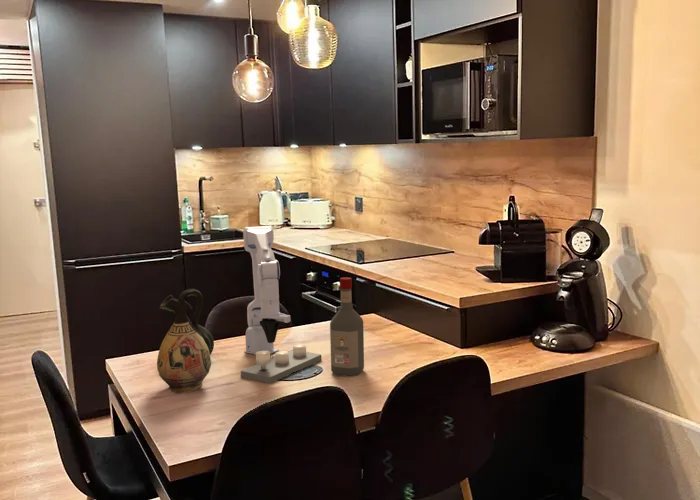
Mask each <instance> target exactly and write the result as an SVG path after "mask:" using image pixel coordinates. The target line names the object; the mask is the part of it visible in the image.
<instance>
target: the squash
mask: <svg viewBox="0 0 700 500" xmlns="http://www.w3.org/2000/svg"><path fill="white" fill-rule="evenodd" d="M198 326H199V329H200V333H201V336H202V337H203V339H204V341H205V343H206V344H207V346H208V349H209V353H210V356H211V355H212V353H213V350H214V348H215V339H214V336H213V335H212V334H211V332H210V330H208V329H207V328H206V327H204V326H202V325H201V324H199V323H198Z"/></svg>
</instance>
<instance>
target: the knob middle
mask: <svg viewBox="0 0 700 500" xmlns="http://www.w3.org/2000/svg"><path fill="white" fill-rule="evenodd" d="M274 357H275V363H276V364H287V363H289V352H288V351H285V350H283V351H282V350H281V351H280V350H279V351H277V352H274Z"/></svg>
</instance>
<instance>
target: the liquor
mask: <svg viewBox="0 0 700 500" xmlns="http://www.w3.org/2000/svg"><path fill="white" fill-rule="evenodd" d="M352 281H353V280H352V277H348V276H346V277H344V276H343V277H340V278H339V288H340V307H339V310H338V311H337V312H336V313H335V315H334V316H333V317H332V318H331V319H330V323H329V333H330V334H329V338H330V370H331V372H332V374H334V375H335V376H339V377H347V378H352V377H357V376H359V375H360V374H361V373H362V372H363V371H364V369H365V341H364V340H365V337H364V334H365V333H364V321H363V318H362V316H361V315H360V314H359V313H358V312H357V311H356V310H355V309H354V306H353V301H352V299H353V298H352V296H353V295H352V288H353V285H352V284H353V282H352Z"/></svg>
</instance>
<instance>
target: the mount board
mask: <svg viewBox="0 0 700 500" xmlns="http://www.w3.org/2000/svg"><path fill="white" fill-rule="evenodd" d="M287 352H289V363H287V364H276V363H275V356H273V357H270V363H268V364H266V369H261V364H257V363H256V364H253V365H251V366H248V367H245V368H244V369H241V370H240V378H245V379H249V380H254V381H257V382H261V383H266V384H270V385H271V384H273V383H275V382H277V381H279V380H281V379H280V378H282V379H283V377H284V378H286V377H288V376H290V375H292V374H291V373H293V372H295V373H297V372H299V371H301V370H303V368H304V369H306V368H308V367H310V366H312V365H314V364H317V363H319V362H321V361H322V354H319V353H314V352H309V351H306V356H303V357H295V356H293V348H292V349H290V350H288V351H287ZM305 367H306V368H305ZM298 370H299V371H298ZM296 371H297V372H296ZM289 374H290V375H289ZM293 374H294V373H293ZM287 375H288V376H287ZM285 376H286V377H285Z"/></svg>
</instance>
